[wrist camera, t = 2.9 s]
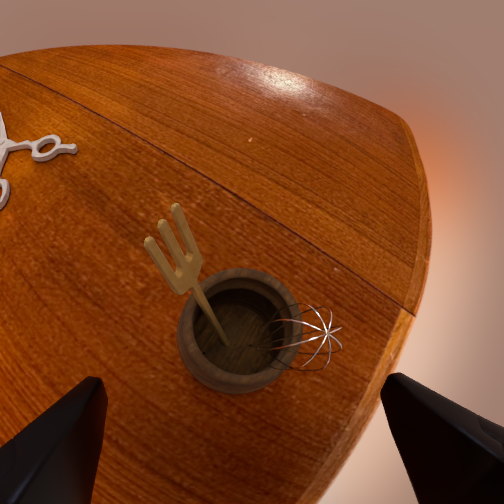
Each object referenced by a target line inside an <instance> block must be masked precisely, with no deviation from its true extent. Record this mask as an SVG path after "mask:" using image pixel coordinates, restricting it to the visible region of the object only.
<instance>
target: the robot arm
mask: <svg viewBox="0 0 504 504" xmlns="http://www.w3.org/2000/svg"><path fill="white" fill-rule="evenodd" d="M380 397H381V400H382V404H383V407H384V410H385V414H386V417H387V420H388V424H389V427H390V430H391V433H392V436H393V438H394V441H395V443H396V446H397V448H398V451H399V453H400V456H401V458H402V460H403V463H404V466H405V468H406V470H407V474H408V476H409V479H410V481H411V484H412V487H413V490H414V492H415V495H416V497H417V501H418V503H419V504H504V427H502V426H500V425H498V424H495V423H493V422H491V421H489V420H487V419H485V418H483V417H481V416H479V415H477V414H475V413H473V412H472V411H470V410H468V409H466V408H464V407H462V406H460V405H458V404H457V403H454V402H453V401H451V400H449V399H447V398H445V397H444V396H442V395H440V394H438V393H436V392H435V391H433V390H431V389H429V388H427V387H425V386H424V385H422V384H420V383H418V382H416V381H415V380H413V379H411V378H409V377H407V376H406V375H404V374H402V373H393V374H390V375H389V376H388V377H387V379H386V381H385V383H384V385H383V387H382V389H381V392H380ZM107 405H108V397H107V394H106V391H105V387H104V384H103V381H102V379H101V378H98V377H92V376H88V377H86V378H85V379H84V380H83V381H81V382H80V383H79V384H78V385H77V386H75V387H74V388H73V389H72V390H70V391H69V392H68V393H67V394H65V395H64V396H63V397H62V398H61V399H59V400H58V401H57V402H56V403H54V404H53V405H52V406H51V407H50V408H48V409H47V410H46V411H45V412H43V413H42V414H41V415H40V416H39V417H37V418H36V419H35V420H34V421H32V422H31V423H30V424H29V425H28V426H26V427H25V428H24V429H23V430H21V431H20V432H19V433H18V434H17V435H15V436H14V437H13V439H10V440H9V441H8V442H7V443H6V444H4V445H3V446H2V447H1V448H0V504H91V498H92V493H93V487H94V482H95V477H96V472H97V467H98V463H99V458H100V454H101V449H102V444H103V436H104V427H105V419H106V412H107Z"/></svg>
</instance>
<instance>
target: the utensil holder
mask: <svg viewBox="0 0 504 504" xmlns="http://www.w3.org/2000/svg"><path fill="white" fill-rule="evenodd" d="M171 213H172V216H173V218H174V221H175V223H176V226H177V228H178V231H179V233H180V235H181V238H182V240H183V243H184V245H185V248H186V250H187V253H186V256H184V254H183V252H182V250H181V248H180V246H179V244H178V242H177V240H176V238H175V236H174V234H173V232H172V230H171V228H170V226H169V224H168V222H167V220H165V219H161V220H160V221H159V222H158V226H157V227H158V230H159V232H160V234H161V236H162V238H163V240H164V242H165V244H166V246H167V248H168V250H169V252H170V254H171V256H172V258H173V259H174V261H175V263H176V265H177V268H176V271H175V272H174V271H173V270H172V268H171V266H170V265H169V263H168V262H167V260H166V258H165V257H164V255H163V253H162V252H161V250H160V249H159V247H158V245H157V244H156V242H155V240H154V239H153V238H152V237H147V238H146V239H145V241H144V246H145V248H146V250H147V251H148V253H149V255H150V256H151V258H152V259H153V261H154V263H155V264H156V266H157V267H158V269H159V271H160V272H161V274H162V275H163V277H164V278H165V280H166V282H167V283H168V285H169V286H170V288H171V289H172V290H173V292H174V293H176V294H178V295H182V294H184V293H185V292H186V291H187V290H188V289H190V290H191V292H192V294H191V295H190V297H189V298H188V300H187V302H186V304H185V307H184V309H183V311H182V314H181V316H180V319H179V323H178V329H177V342H178V348H179V352H180V355H181V358H182V360H183V362H184V364H185V366H186V367H187V369H188V370H189V372H190V373H191V374H192V375H193V376H194V377H195V378H196V379H197V380H198V381H199V382H201V383H202V384H204V385H205V386H207V387H209V388H211V389H213V390H216V391H219V392H223V393H228V394H244V393H250V392H254V391H257V390H259V389H262V388H264V387H266V386H267V385H269V384H270V383H272V382H273V381H274V380H276V379H277V378H278V377H279V376H280V375H281V374H282V373H283V372H284V371H285V370H297V371H319V370H322V369H324V368H325V367H326V365H327V364H328V362H329V359H330V355H331V353H337V352H339V351H340V350H341V349H342V346H341V344H340V342H339V341H338V340H337V339H336V338H334V337H333V336H331V335H330V333H332V332H335V331H337V330H339V329H341V328H342V327H343V326H342V325H339V326H334V327H331V323H332V312H331V310H330V308H328V307H327V306H320V307H316V308H313V307H311V306H310V305H308V304H306V303H296V301H295V299H294V297H293V296H292V294H291V293H290V292H289V290H288V289H287V288H286V287H285V286H284V285H283V284H282V283H280V282H279V281H278V280H276V279H275V278H273V277H272V276H270V275H268V274H266V273H263V272H261V271H257V270H253V269H247V268H235V269H228V270H224V271H221V272H218V273H216V274H214V275H212V276H210V277H208V278H207V279H205V280H204V281H203V282H202V283H200V284H198V282H197V278H198V275H199V272H200V269H201V266H202V262H203V259H202V257H201V254H200V252H199V249H198V247H197V245H196V242H195V240H194V238H193V235H192V233H191V231H190V228H189V226H188V224H187V221H186V219H185V216H184V214H183V211H182V209H181V207H180V204H178V203H173V205H172V206H171ZM297 304H304V305H307V306H308V307H310V308H311V309H310V310H307V311H304V312H302V313H305V312H308V311H311V310H314V311H315V312H316V314H317V315H318V316H319V318H320V320H321V321H322V323H323V326H324V328H325V329H319V328H317V327H315V326H312V325H310V324H307V323H304V322H302V317H301V314H302V313H300V310H299V307H298V305H297ZM322 307H325V308H327V309H329V311H330V314H331V319H330V325H329V328H326V326H325V324H324V322H323V320H322V318H321V317H320V315H319V314H318V312H317V311H316V310H315V309H318V308H322ZM303 324H305V325H308V326H311V327H313V328H315V329H318V330H316V331H312V332H317V331H322V332H323V333H325V334H323V335H320V336H317V337H315V338H312V339H308V340H305V341H302V342H301V340H302V335H304V334H308V333H312V332H307V333H303ZM336 327H340V328H338V329H335V330H333V331H331V332H329V330H330V329H331V328H336ZM327 329H328V331H327ZM323 330H325V331H326V332H325V331H323ZM302 333H303V334H302ZM325 335H326V336H325ZM328 335H329V336H330V337H332V338H333V339H334V340H336V341H337V342H338V343H339V345H340V349H339V350H338V351H335V352H331V346H330V339H329V336H328ZM322 336H325V338H324V340H323V342H322V344H321V345H320V347H319V349H318V350H317V351H316V353H315V354H308V353H299V352H298V350H299V348H300V344H301V343H304V342H307V341H311V340H314V339H317V338H319V337H322ZM326 337H327V338H328V343H329V353H319V354H317V353H318V351H319V350H320V348H321V347H322V345H323V343H324V341H325V339H326ZM297 353H299V354H307V355H313V356H312V357H311V358H310V359H309V360H308V361H307V362H306V363H304V364H303V365H301V366H300V367H297V368H292V367H290V366H289V365H290V364H291V363H292V361H293V360H294V358H295V356H296V354H297ZM322 354H329V357H328V361H327V363H326V364H325V366H324V367H323V368H321V369H317V370H298V369H299V368H301V367H303V366H304V365H306V364H307V363H308V362H309V361H310V360H312V359H313V357H314V356H315V355H322ZM288 367H289V368H291V369H287V368H288Z"/></svg>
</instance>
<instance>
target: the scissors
mask: <svg viewBox="0 0 504 504" xmlns="http://www.w3.org/2000/svg"><path fill="white" fill-rule="evenodd" d="M52 142H53V143H55V144H56V145H55V147H54V148H53V149H52V150H51V151H49V152H47V153H43V154H41V153H39V149H40V148H41V147H42V146H43V145H45V144H46V143H52ZM24 148H29V149H32V150H33V151H32V158H33V160H35V161H39V162H40V161H46V160H50V159H52V158H53V157H55V156H56V155H57V154H59V153H66V152H69V153H73V154H75V153H76V152H77V151H78V149H77V146H76V145H75V144H71V145H65V144H62V143H61V141H60V138H59V137H58V136H56V135H49V136H45V137H43V138H41V139H39V140H38V141H33V142H29V141H28V140H26V141H24V142H21V143H15V142H14V141H12V140H9V139H7V135H6V130H5V125H4V122H3V118H2V114H1V111H0V174H1V171H2V167H3V165H4V162H5V160H6V158H7V156H8V152H9V151H14V150H19V149H24ZM0 187H2V189H3V192H2V196H1V198H0V210H1V209H2V208H3V206H4V205H5V204H6V202H7V200H8V198H9V191H10V187H9V183H8V181H7V180H5V179H1V177H0Z"/></svg>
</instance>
